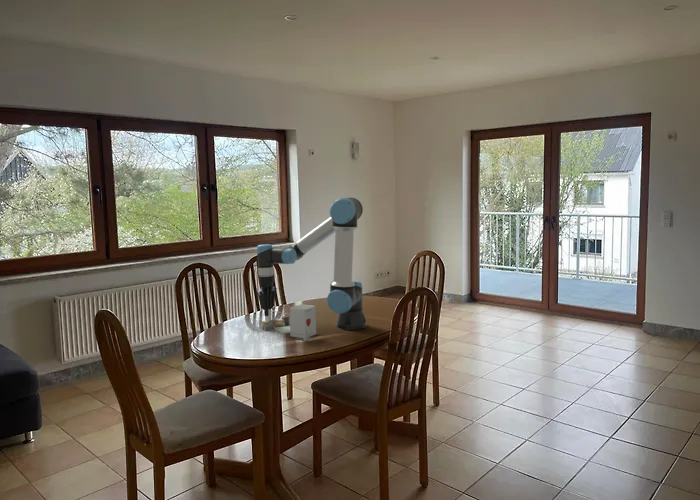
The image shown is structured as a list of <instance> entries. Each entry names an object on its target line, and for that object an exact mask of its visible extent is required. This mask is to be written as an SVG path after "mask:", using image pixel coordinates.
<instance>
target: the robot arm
mask: <svg viewBox="0 0 700 500" xmlns="http://www.w3.org/2000/svg"><path fill="white" fill-rule="evenodd" d="M363 213H364V207H363V205H362V203H361V201H360V200H359V199H358V198H355V197H341V198H338V199H336V200H334V201H333V202H332V203H331V205H330V208H329V217H328V218H327V219H326V220H323V222H321V223H320V224H319V225H317V226H316V227H315V228H314V229H312V230H310V231H309V232H308V233H307V234H306V235H304V236H303V237H301V238H300V239H299V240H297V241H296V242H295V243H293V244H292V245H289V246H287V247H284V248H275V247H274V248H273V245H272V244H270V243H269V244H267V243H265V244H258V245H257V248H256V250H257V251H256V255H257V256H256V257H257V258H256V259H257V273H258V284H259V290H257V291H256V294H257V296H258V301H259V306H260V309H261V310H264V311H263V312H264V318H265V320H264V321H266V320H272V310H273V309H274V307H275V300H276V291H277V289H278V288H277V287H276V286H274V284H273V283H275V279H274V274H275V273H274V271H275V270H274V265H275V264H276V265H281V264H282V265H292V264H295V263H296V261H298V260H301V259H302V258H303V257H304V256H305V255H306V254H307V253H308V252H309V251H311V250H313V249H314V248H316V247H317V246H318V245H320V244H321V243H322V242H323V241H325V240H327V239H328V238H329V237H331V236H332V235H333V234H335V235H334V265H333V280H332V281H331V282H330V284H329V285H330V287H329V288H330V289H329V293H328V295H327V298H326V304H327V306H328V308H329V310H331V311H332V312H333V313H336V314H338V316H337V319H336V325H335V326H336V328H338V329H339V330H344V331H356V330H362V329H363V330H364V328H365V329H366V327H367V319H366V316H365V315H364V312H363V311H364V309H363V284H362V282H361V281H356V280H355V281H353V259H354V258H353V257H354V253H353V252H354V236H355V235H354V232H355V230H356V229H357V228H358V220H359V219H360V218H361V217H362V215H363Z"/></svg>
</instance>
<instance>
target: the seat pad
mask: <svg viewBox="0 0 700 500" xmlns="http://www.w3.org/2000/svg"><path fill="white" fill-rule="evenodd" d="M273 330H275V331H276V332H278V333H280V334H282V335H284V334H290V325H289V326H283V327H277V328H273Z"/></svg>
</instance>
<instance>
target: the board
mask: <svg viewBox="0 0 700 500" xmlns="http://www.w3.org/2000/svg"><path fill="white" fill-rule="evenodd" d="M271 330H274V328H273V321H267V322H264V329H263V331H271Z"/></svg>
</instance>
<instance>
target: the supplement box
mask: <svg viewBox="0 0 700 500" xmlns="http://www.w3.org/2000/svg"><path fill="white" fill-rule="evenodd" d="M316 313H317V312H316V305H312V304H311V305H309V304H301V303H300V304H298V305H293V306H290V307H289V326H290V333H289V334H290V335H289V336H290V337H292V338H293V337H294V338H297V339H296V341H303V342H306V341H309V340H312V339H314V338H316V337H317V322H316V319H317V317H316Z"/></svg>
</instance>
